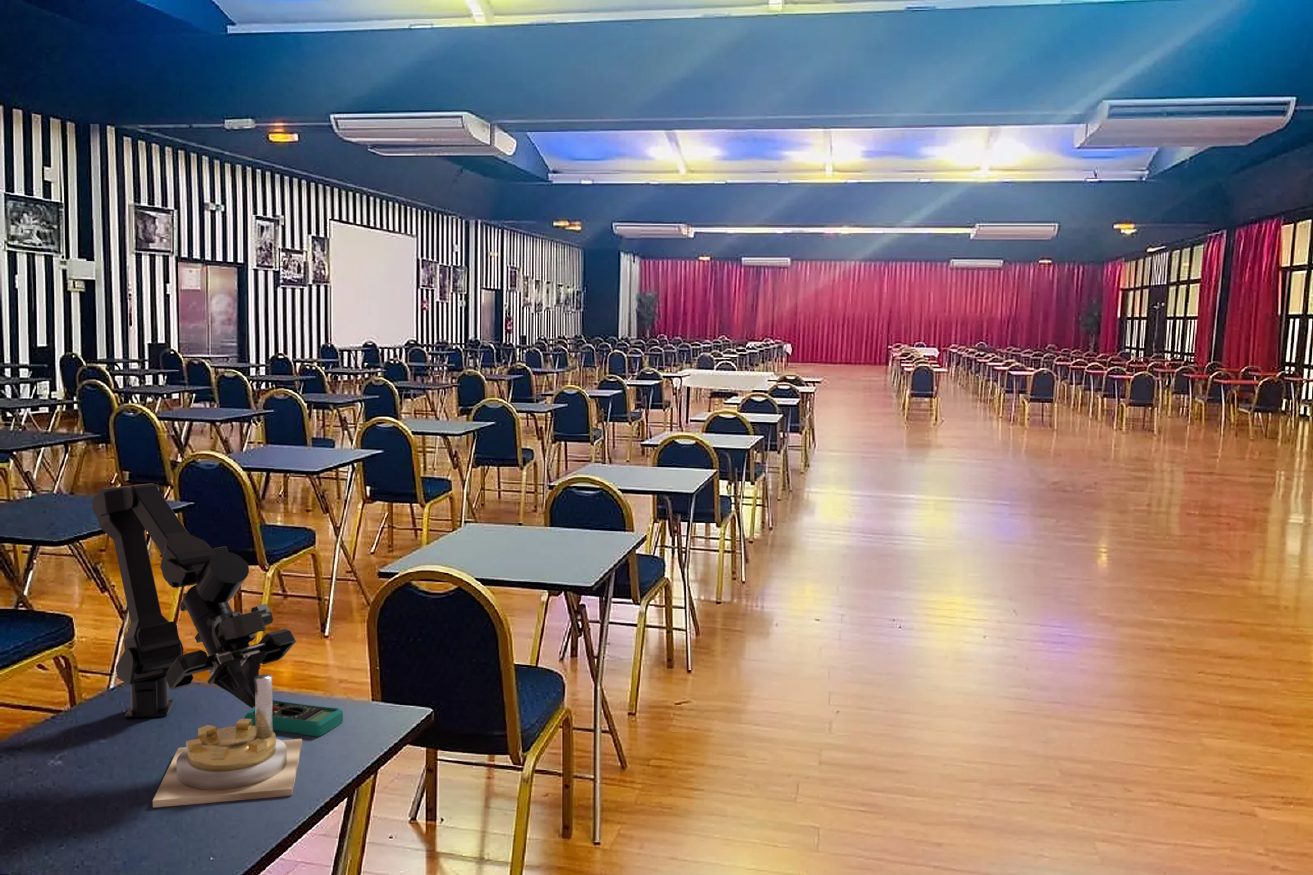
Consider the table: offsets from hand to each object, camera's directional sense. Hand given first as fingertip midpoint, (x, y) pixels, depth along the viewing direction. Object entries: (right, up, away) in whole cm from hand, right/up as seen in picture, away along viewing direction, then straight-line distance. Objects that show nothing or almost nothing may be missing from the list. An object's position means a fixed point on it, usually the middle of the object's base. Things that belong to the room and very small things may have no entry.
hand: (256, 705), depth 153 cm
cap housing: (-3, -10, -2) cm, 10 cm away
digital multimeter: (0, -8, +17) cm, 19 cm away
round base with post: (-3, -7, -2) cm, 7 cm away
